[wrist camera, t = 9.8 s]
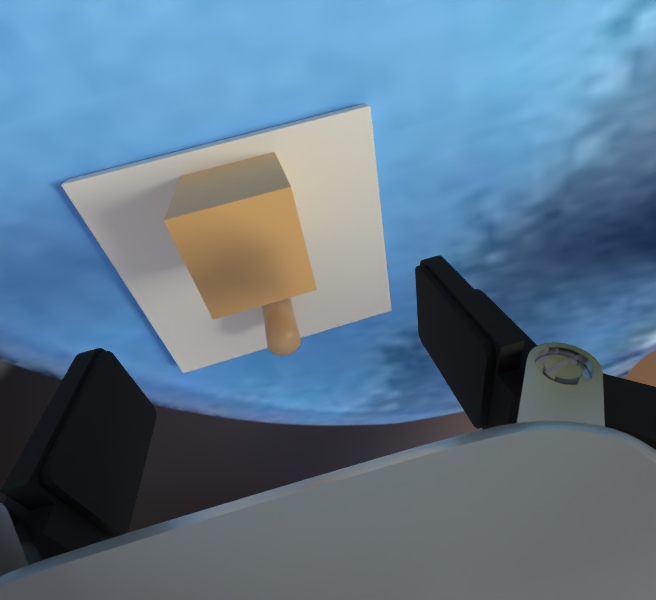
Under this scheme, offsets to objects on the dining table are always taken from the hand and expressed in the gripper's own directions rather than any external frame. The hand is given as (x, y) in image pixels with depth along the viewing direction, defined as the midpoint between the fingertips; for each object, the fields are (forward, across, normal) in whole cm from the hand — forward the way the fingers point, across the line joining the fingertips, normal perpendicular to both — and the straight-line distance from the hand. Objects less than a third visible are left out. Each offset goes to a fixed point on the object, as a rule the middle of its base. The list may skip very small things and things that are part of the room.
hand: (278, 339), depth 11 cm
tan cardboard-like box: (+12, +1, 0) cm, 12 cm away
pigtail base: (+13, +1, +3) cm, 13 cm away
